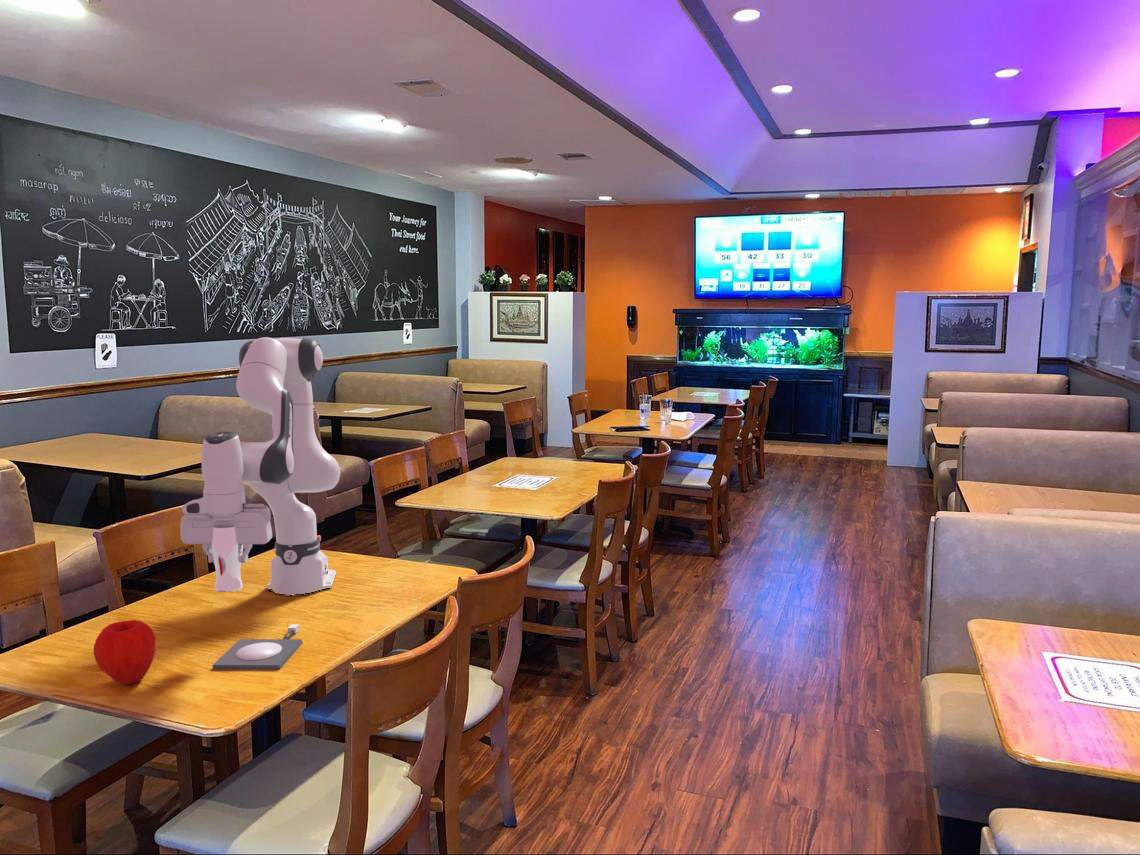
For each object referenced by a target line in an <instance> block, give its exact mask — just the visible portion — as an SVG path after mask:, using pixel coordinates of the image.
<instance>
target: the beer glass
mask: <svg viewBox="0 0 1140 855" xmlns="http://www.w3.org/2000/svg"><path fill="white" fill-rule="evenodd" d="M211 527H212V531H211V550H212V556H213V560H214V562H213V565H214V568H215V583H214V584H215V586H214V591H216V592H217V593H218V592H219V593H231V592H237V591H240V590H242V589H243V588H244V584H243V580H242V574H241V572H242V570H241V569H242V563H240V562H239V560H240V555H242V554H243V553H244V549H243V544H237V541H236V533H235V528H236V527H228V528H216V527H213V526H211Z"/></svg>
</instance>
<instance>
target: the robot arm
mask: <svg viewBox="0 0 1140 855" xmlns="http://www.w3.org/2000/svg"><path fill="white" fill-rule="evenodd" d="M238 361H239V362H238V363H239V371H238V373H237V377H236V386H235V387H236V391H237V394H238V396H239V398H240V399H241V400H242V401H243V402H244V403H245V404H246V405H248V406H249V407H250V408H253V409H255V410H257V411H260V412H263V413H266V414H269V415H271V422H272V424H271V429H272V438H271V439H270V440H267V441H264V442H263V441H253V442H252V441H240V437H239V434H238V433H236V432H234V431H224V430H223V431H218V432H212V433H210V434H208V435H206V436H205V437H204V439H203V440H202V441H203V442H202V445H201V446H202V448H201V473H202V474H201V475H202V477H203V481H204V486H203V491H202V493H203V495H202V496H201V497H198V498H195V499H193V500H190V501H188V502H187V503H184V504H183V505H182V507H181V508H182V509H181V510H182V513H183V514H184V515H182V517H181V518H180V529H179V530H180V532H179V533H180V540H181V541H182V543H183V544H184V545H201V546H202V550H203V552H205V554H206V555H207V558H208V560H207V561H208V563H209V564H211V563H213V564H214V560H213V556H212V550H211V531H212V527H211V526H213V527H216V528H228V527H236V528H235V533H236V541H237V544H243V554H242V555H240V560H239V562H240V563H241V564H243V563H244V564H245V563H247V562H249V554H250V551H251V549H252V548H253V545H265V544H267V543H268V542H270V541H271V539H273V529H272V524H271V523H272V522H271V518H272V517H271V512H272V515H273V520H274V528H275V540H276V541H275V542H274V553H275V557H274V558H273V559H272V560H271V562H270V582H269V583H267V584H266V586H265V588H266V587H268V588H271V589H273V590H274V591H275V592H277V593H281V594H288V595H287V596H290V595H292V594H304V593H309V592H313V591H316V590H319V589H322V588H327V587H331V586H332V584H333V581H334V582H335V580H334V578H335V579H336V577H335V575H336V576H337V574H336V573H337V571H336V570H335V569H331V568H329V560H328V558H329V557H328V556H327V555H326V554H325V553H324V552H323V551H322V550H321V545H320V543H321V540H322V536H321V535H320V534H319V535H317V534H318V530H317V515H316V513H315V511H314V509H313V508H311V506H309V505H307V504H305V503H303V502H301V501H299V499H298V498H297V497H296V495H295V493H298V494H299V493H301V494H302V493H305V494H307V493H320V492H326V491H330V490H333V489H334V488H335V487H336V486H337V485H338V483H339V481H340V477H341V468H340V464H339V462H338V461H337V460H336V458H335V457H334V456H333V455H331V454H329V453H328V452H327V450H325V449H324V448H323V446H322V444H321V443H320V441H319V440H318V437H317V435H316V429H315V422H314V421H315V420H314V395H313V388H312V387H313V386H312V381H313V379H314V377H317V376H318V374H319V373H321V371H322V368H323V362H324V354H323V350H322V346H321V345H320V344H319V342H318V341H317V340H314V339H311V338H292V337H279V338H273V337H269V336H265V337H263V336H262V337H258V338H256V339H253V340H250V341H246V342H245V343H244V344H242V346H241V347H240V350H239V354H238ZM244 483H247V484H248V486H249V487H250V488H251V490H253V491H254V492H255V493H257V494H258V495H260V496H261V497H262V498H263V499H264V501H265V502H266V503H267V505H268V506H269V507H268V506H267V505H266V504H264V503H252V502H251V503H246V489H245V488H246V487H245V485H244ZM333 585H334V584H333ZM304 595H305V594H304ZM292 596H293V595H292Z"/></svg>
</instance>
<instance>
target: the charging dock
mask: <svg viewBox="0 0 1140 855" xmlns="http://www.w3.org/2000/svg"><path fill="white" fill-rule="evenodd" d="M297 632H300V623H294V624H293V623H291V624H290V625H289V626H288V627H287V634H286V635H285V636H284V637H283V638H282V639H280V638H279V639H278V638H265V639H264V638H263V639H262V638H240V639H238V640H237V642H235V643H234V644H233V645H232V646H231V647H230V648H229V649H228V650H226V652H225V653H224V654H222V655H221V656H220V658H219V659H217V660H216V661H215V662H214V663H213V664H212V670H281V669H282V668H283V666H285V664H286V663H287V662H288V660H289V659H290V658H291V657H292V656H293V655H294V653H295V652H296V651H297V650H299V648H300V647H301V646H302V644H303V639H302V638H301V639H300V638H299V639H298V638H295V639H294V638H291V637H292V636H293V635H297V634H298V633H297ZM293 633H295V634H293ZM296 633H297V634H296ZM299 646H300V647H299Z"/></svg>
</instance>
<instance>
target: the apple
mask: <svg viewBox="0 0 1140 855" xmlns="http://www.w3.org/2000/svg"><path fill="white" fill-rule="evenodd" d="M155 654H156V635H155V633H154V631H153V628H152V627H150V626H149V624H147V623H145V622H144V621H141V620H137V619H132V620H131V619H130V620H122V621H121V620H120V621H116V622H113V623H109V624H108V625H107V626H105V627H104V628H102V629H101V631H100V632H99V634H98V636H97V637H96V639H95V642H94V645H93V656H94V659H95V663H96V664H97V666H99V669H100V670H101V671H102V672H104V673H105V674H106V675H107V676H108V677H109V678H111V679H112V680H113V681H114V682H115V683H119V684H121V685H131V684H134V683H139V682H140V681H141V680H143V679H144V678H145V676H146V674H147V673H148V671H149V669H150V667H151V666H152V663H153V661H154V657H155Z"/></svg>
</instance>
